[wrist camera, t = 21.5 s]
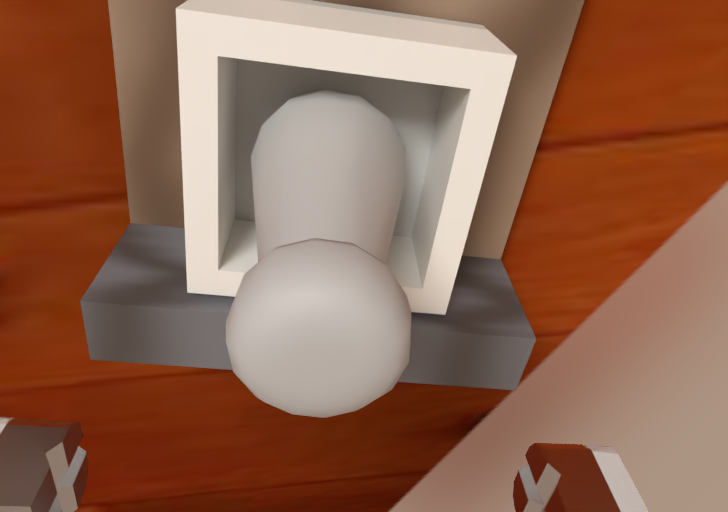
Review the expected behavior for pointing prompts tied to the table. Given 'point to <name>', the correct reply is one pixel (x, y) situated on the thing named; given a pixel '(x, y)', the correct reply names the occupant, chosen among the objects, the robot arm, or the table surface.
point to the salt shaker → (323, 260)
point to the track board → (509, 144)
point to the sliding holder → (342, 74)
